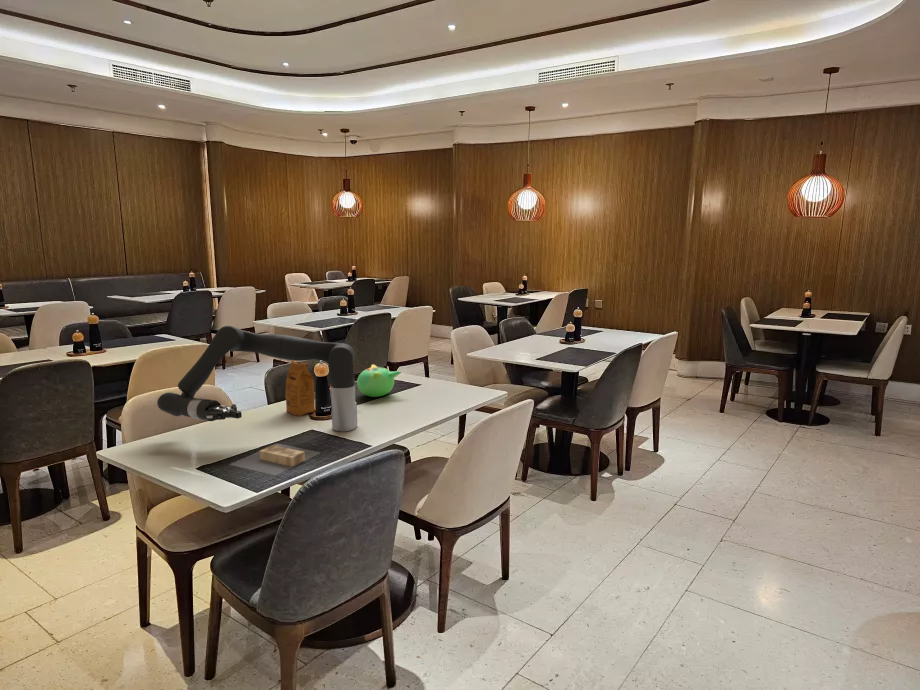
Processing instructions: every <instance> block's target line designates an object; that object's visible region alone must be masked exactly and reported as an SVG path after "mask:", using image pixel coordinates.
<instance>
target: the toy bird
mask: <svg viewBox="0 0 920 690" xmlns="http://www.w3.org/2000/svg"><path fill="white" fill-rule="evenodd" d="M401 373H402V371H401V370H396V371H390V370H389V369H388V368H385V367H382V366H377V365H376V364H371V366H370V367H369V368H366V369H364V370H363V371H362V372H361V373H360V374H359V375H358V377H357V380H356V381H357V382H356V384H357V388H358V390H359V392H360V393H362V395H365V396H367V397H371V398H377V397H382V396H385V395H387V394H389V393H390V392H391V391H392V390H393V388H394V385H395V379H396V377H397V376H399V375H400V374H401Z"/></svg>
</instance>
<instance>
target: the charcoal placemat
mask: <svg viewBox="0 0 920 690" xmlns="http://www.w3.org/2000/svg"><path fill="white" fill-rule="evenodd" d="M274 445H275V446H280V447H284V448H289V449H294V450H299V451H304V452H305V460H304V461H302V462H300V463H298V464H296V465H294V466H288V465H284V464H279V463H275V462H270V461H266V460H261V459H260V450H259V451H256V452H254V453H252V454H250V455H248V456H244V457H243V458H240V459H238V460H236V461H234V462H231V463H229V464H228V465H229V466H232V467H236V468H237V467H238V468H241V469H245V470H250V471H253V472H258V473H263V474H266V475H271V476H278V475H279V474H281V473H284V472H286V471H287V470H290V469H292V468H294V467H295V466H297V465H300V464H302V463H304V462H305V461H308V460H310V459H311V458H314V457H315V456H317V455H320V454H321V453H322V452H320V451H315V450H311V449H307V448H306V449H305V448H301V447H297V446H291V445H288V444H287V445H286V444H281V443H275V444H274Z"/></svg>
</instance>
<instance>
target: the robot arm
mask: <svg viewBox="0 0 920 690" xmlns="http://www.w3.org/2000/svg"><path fill="white" fill-rule="evenodd" d="M229 352H245V353H257V354H260V355H263V356H267V357H272V358H276V359H279V360H280V359H281V360H287V361H293V360H294V361H295V362H296V361H298V362H299V361H300V362H301V361H322V362H326V363H328V374H329V376H328V377H329V382H330V383H329V384H330V402H331V428H332V430H334V431H336V432H350V431H353V430H355V429H356V428H357V427H358V404H357V403H358V402H356V383H355V382H356V380H355V379H356V378H355V375H354V373H355V372H354V360H355V358H356V352H355V350H354V348H353V347H352V346H351V345H349V344H347V343H343V342H324V341H317V340H313V339H310V338H304V337H299V336H294V335H287V334H281V333H279V334H278V333H277V334H276V333H267V334H265V333H262V334H261V333H256V332H252V331H251V332H250V331H248V330H244V329H243V330H242V329H240V328H238V327H236V326H232V325H225V326H222V327H221V328H219V329H218V330H217V331H216V333H215V334H214V336H213V337H212V339H211V341H210V343H209V344H208V346H207V347H206V348H205V350H204V352H203V353H202V354H201V356H200V357H199V358H198V360H197V361H196V362H195V363H194V364H193V366H191V368H190V369H189V370H188V371H187V372H186V374H185V375H183V377H182V379H181V380H180V381H179V382H178V383H177V388H178V390H179V391H180V392H181V394H178V393H175V392H170V391H169V392H165V393H162V394H161V395H160V396H159V397H158V399H157V402H156V404H157V407H158V408H159V409H160V411H162V412H164V413H167V414H170V415H172V416H173V417H180V416H184V417H188V418H193V419H196V420H201V421H206V422H214V421H218V420H219V421H220V420H221V421H222V420H226V419H232V418H233V419H241V418H242V411H240V410H238V407H237V405H236V404H235V403H233V404H231V405H230V406H228V405H224V404H221V403H220V401H218V400H216V399H209V398H201V397H200V398H198V397H195V395H196V394H197V392H198V391H199V390H200V389H201V388H202V386H203V385H204V384H205V383H206V382H207V380H208V379H209V378H210V375H211V374H212V373H213V371H214V369H215V367H216V365H218V363H219V362H220V361H221V359H223V357H224V356H225V355H226V354H227V353H229Z"/></svg>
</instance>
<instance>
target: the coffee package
mask: <svg viewBox="0 0 920 690" xmlns="http://www.w3.org/2000/svg"><path fill="white" fill-rule="evenodd" d="M308 368H309V364H308V363H297V362H296V361H295V360H291V362H290V365H289V369H288V371H287V375H286V376H287V377H286V379H285V380H286V381H285V402H286V406H285V408H286V412H287V413H290V414H291V415H293V416H299V417H300V416H301V417H302V416H303V415H305V414H309V413H313V412H315V411H316V407H315V404H316V402H315V400H316V396H315V379H314V377H313V376H312V374H311V372H310V371H309V369H308Z"/></svg>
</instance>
